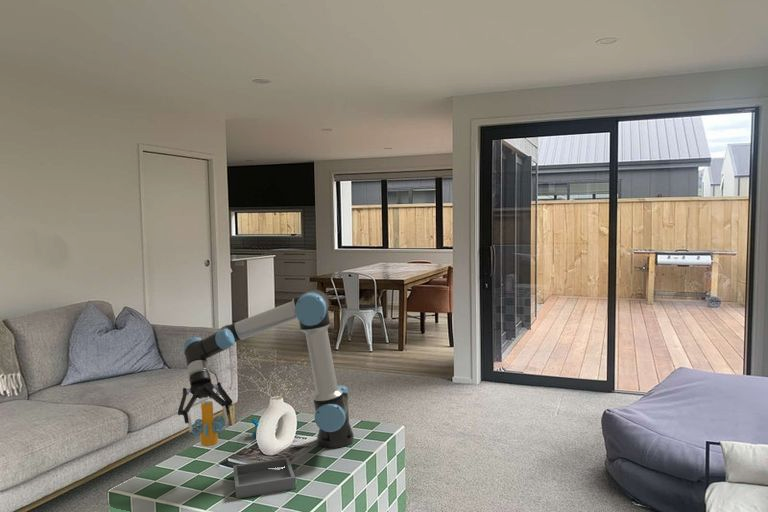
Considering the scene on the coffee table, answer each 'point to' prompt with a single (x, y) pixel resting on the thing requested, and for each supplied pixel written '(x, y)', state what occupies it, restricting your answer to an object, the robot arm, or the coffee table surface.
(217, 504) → the coffee table surface
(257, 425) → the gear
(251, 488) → the tray
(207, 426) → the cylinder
